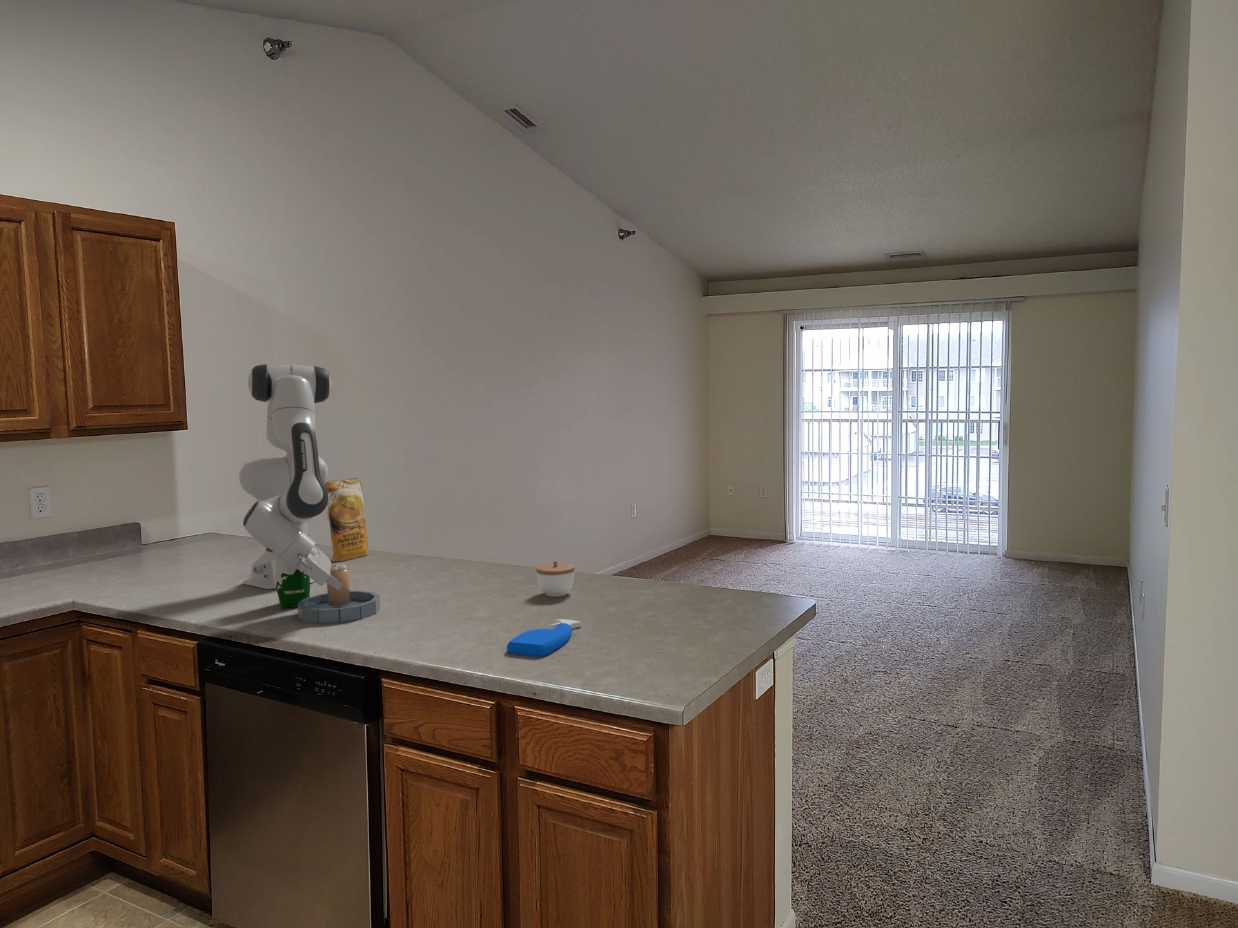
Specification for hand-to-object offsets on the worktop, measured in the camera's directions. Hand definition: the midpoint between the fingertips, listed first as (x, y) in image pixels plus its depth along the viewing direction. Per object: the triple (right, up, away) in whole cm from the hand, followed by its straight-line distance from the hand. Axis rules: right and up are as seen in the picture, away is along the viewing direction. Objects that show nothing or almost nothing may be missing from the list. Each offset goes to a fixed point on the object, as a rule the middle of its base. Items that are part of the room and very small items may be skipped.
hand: (340, 584), depth 222 cm
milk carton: (-16, -7, +11) cm, 21 cm away
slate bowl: (0, -8, 0) cm, 8 cm away
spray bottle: (+57, -9, -28) cm, 65 cm away
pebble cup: (0, -5, 0) cm, 5 cm away
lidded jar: (+56, -5, +15) cm, 58 cm away
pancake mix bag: (-22, -2, +75) cm, 78 cm away
